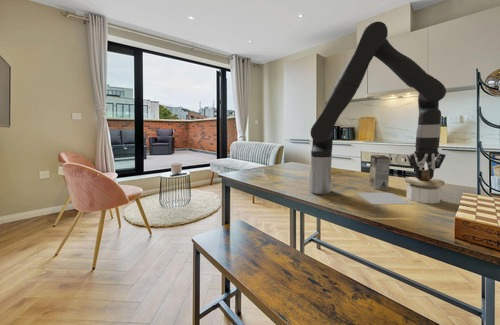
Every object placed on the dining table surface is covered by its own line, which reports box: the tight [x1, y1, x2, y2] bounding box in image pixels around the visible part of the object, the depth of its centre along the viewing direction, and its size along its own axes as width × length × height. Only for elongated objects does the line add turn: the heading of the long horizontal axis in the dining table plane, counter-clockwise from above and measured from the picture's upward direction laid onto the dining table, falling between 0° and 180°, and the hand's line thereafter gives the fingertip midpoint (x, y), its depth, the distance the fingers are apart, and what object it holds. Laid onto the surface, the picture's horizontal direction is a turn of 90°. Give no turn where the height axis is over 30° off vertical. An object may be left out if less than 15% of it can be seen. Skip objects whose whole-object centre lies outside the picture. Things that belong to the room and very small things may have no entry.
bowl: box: [405, 183, 442, 204], centre depth 95 cm, size 11×11×6 cm
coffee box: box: [368, 154, 391, 191], centre depth 115 cm, size 9×6×16 cm
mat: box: [355, 192, 415, 205], centre depth 98 cm, size 16×16×1 cm
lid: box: [404, 169, 446, 187], centre depth 94 cm, size 13×13×5 cm
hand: (424, 178), depth 94 cm, fingers closed on lid, 3 cm apart
